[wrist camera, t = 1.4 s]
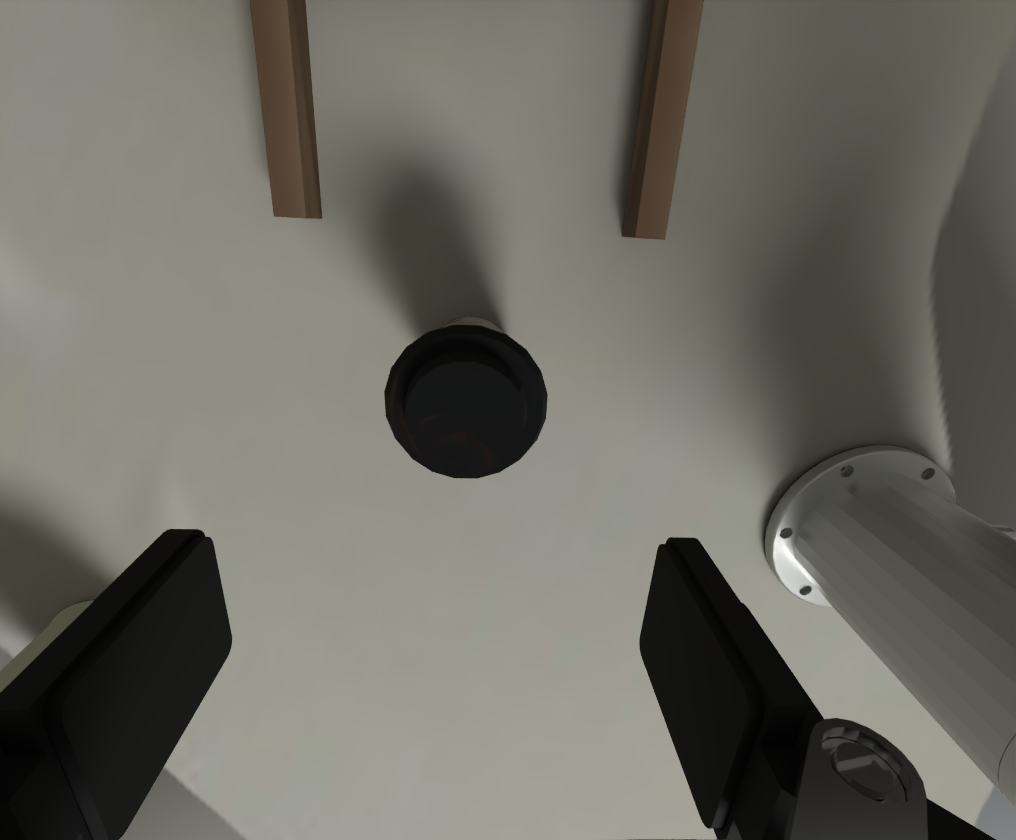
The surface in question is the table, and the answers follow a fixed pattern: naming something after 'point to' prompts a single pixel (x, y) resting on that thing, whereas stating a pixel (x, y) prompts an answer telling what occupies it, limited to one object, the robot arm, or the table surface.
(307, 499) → the table surface
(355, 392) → the table surface
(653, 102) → the bay
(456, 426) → the coffee cup
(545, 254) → the table surface
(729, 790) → the robot arm
